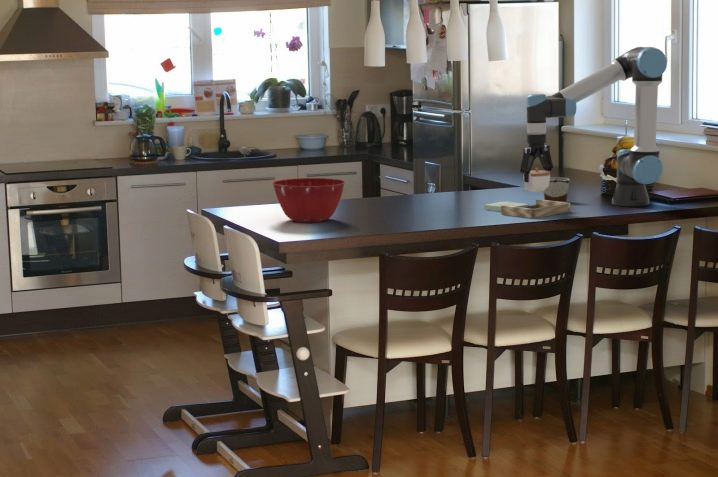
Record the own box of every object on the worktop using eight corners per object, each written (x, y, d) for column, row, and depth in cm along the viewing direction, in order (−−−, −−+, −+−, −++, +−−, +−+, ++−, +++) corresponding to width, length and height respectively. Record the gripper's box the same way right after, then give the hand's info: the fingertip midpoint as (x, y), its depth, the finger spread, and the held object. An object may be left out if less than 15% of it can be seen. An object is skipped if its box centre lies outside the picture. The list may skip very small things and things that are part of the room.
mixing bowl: (306, 212, 475) (305, 175, 473) (360, 218, 458) (360, 179, 455) (258, 222, 454) (257, 182, 451) (313, 228, 436) (312, 187, 433)
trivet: (529, 209, 475) (529, 204, 475) (508, 212, 466) (508, 207, 466) (504, 206, 484) (504, 201, 484) (484, 209, 476) (484, 204, 475)
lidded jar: (529, 193, 457) (529, 170, 455) (519, 190, 467) (518, 167, 465) (554, 191, 459) (554, 168, 458) (543, 188, 469) (543, 165, 468)
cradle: (570, 211, 466) (570, 202, 466) (533, 218, 451) (533, 209, 450) (537, 207, 478) (537, 199, 478) (501, 214, 463) (501, 205, 462)
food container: (569, 200, 498) (569, 177, 496) (570, 202, 492) (570, 178, 490) (540, 200, 499) (540, 177, 497) (541, 202, 493) (541, 179, 491)
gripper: (547, 130, 469) (547, 184, 473) (510, 135, 454) (510, 191, 458) (562, 131, 464) (562, 186, 468) (525, 136, 448) (525, 192, 452)
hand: (536, 188), depth 463 cm, fingers closed on lidded jar, 11 cm apart
